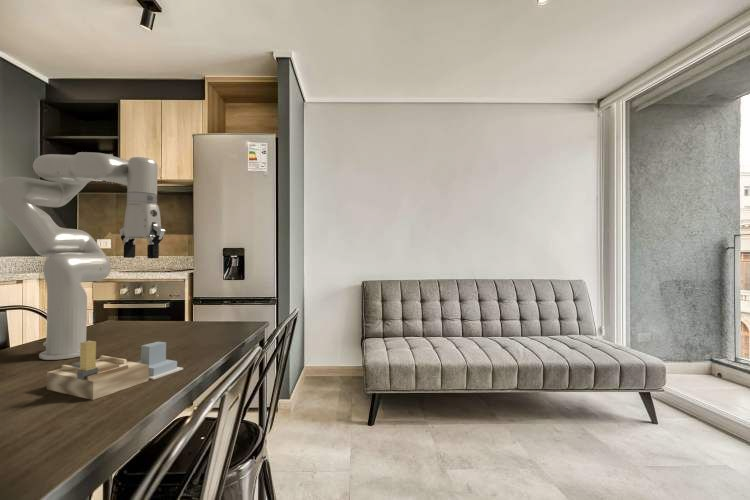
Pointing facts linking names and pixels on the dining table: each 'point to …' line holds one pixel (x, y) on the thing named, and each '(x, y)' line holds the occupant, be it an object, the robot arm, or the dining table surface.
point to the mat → (165, 373)
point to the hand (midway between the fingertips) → (141, 257)
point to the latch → (86, 360)
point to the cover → (156, 358)
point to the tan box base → (98, 378)
